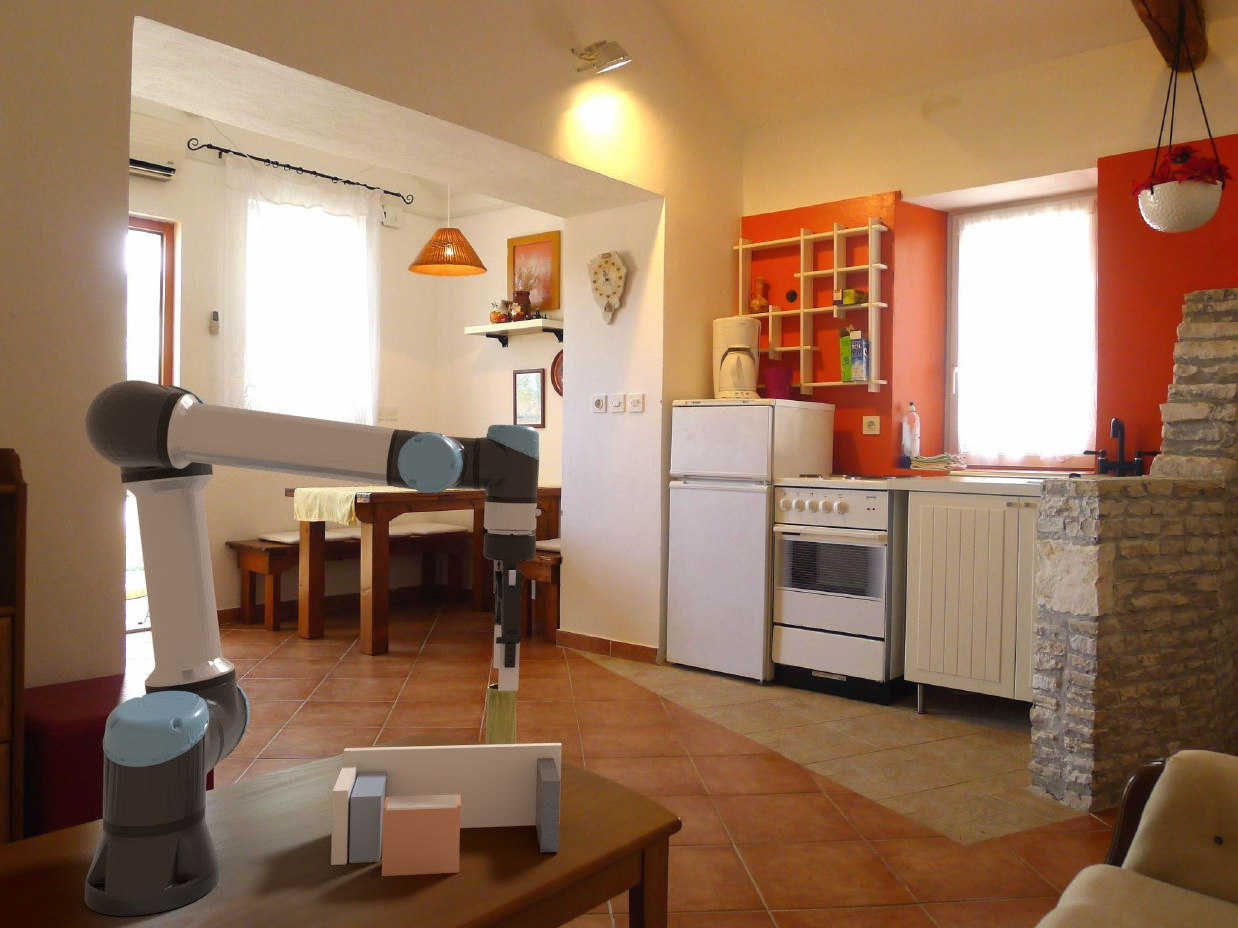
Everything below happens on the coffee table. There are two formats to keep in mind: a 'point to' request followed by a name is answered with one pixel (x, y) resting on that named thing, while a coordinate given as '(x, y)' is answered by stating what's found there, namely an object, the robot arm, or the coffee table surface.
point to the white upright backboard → (448, 782)
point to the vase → (500, 716)
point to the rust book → (421, 835)
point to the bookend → (547, 805)
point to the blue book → (367, 817)
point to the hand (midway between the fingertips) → (505, 678)
